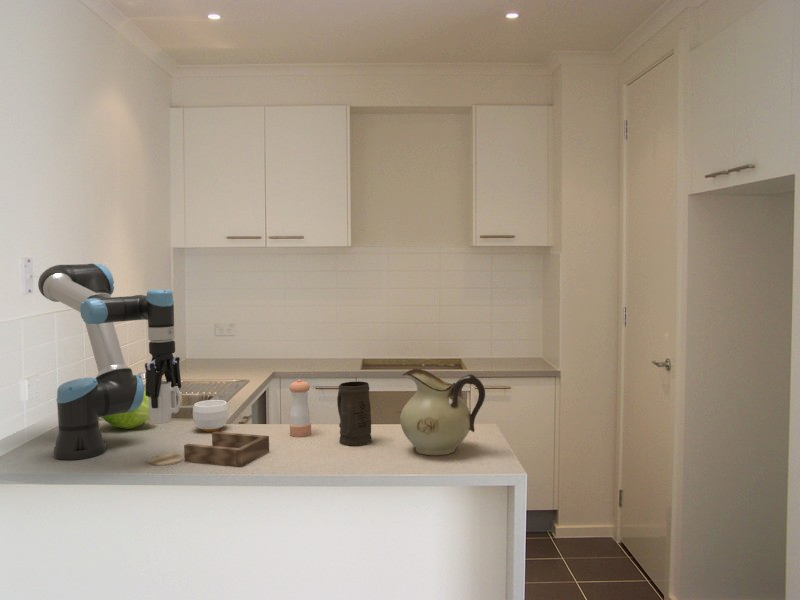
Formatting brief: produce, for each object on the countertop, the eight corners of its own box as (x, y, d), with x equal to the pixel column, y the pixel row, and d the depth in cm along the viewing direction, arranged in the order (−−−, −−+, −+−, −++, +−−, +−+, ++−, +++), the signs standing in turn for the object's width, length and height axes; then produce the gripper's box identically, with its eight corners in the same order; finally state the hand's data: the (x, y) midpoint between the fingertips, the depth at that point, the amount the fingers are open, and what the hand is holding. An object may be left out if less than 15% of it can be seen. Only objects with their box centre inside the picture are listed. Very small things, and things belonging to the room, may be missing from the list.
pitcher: (389, 445, 226) (388, 369, 224) (454, 437, 235) (453, 363, 233) (418, 464, 205) (417, 380, 204) (488, 454, 215) (487, 374, 213)
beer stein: (380, 441, 231) (376, 381, 231) (356, 448, 223) (352, 386, 223) (348, 436, 241) (344, 379, 241) (325, 443, 234) (321, 383, 233)
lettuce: (137, 440, 245) (135, 400, 242) (91, 430, 252) (89, 391, 249) (167, 424, 261) (166, 385, 257) (124, 415, 267) (122, 377, 264)
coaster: (142, 463, 210) (142, 462, 210) (163, 454, 220) (163, 452, 220) (170, 466, 207) (170, 464, 207) (190, 457, 216) (190, 455, 216)
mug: (145, 424, 210) (144, 384, 209) (153, 419, 216) (152, 381, 216) (178, 424, 209) (177, 384, 209) (186, 419, 216) (184, 380, 215)
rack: (184, 461, 212) (184, 445, 212) (215, 446, 228) (215, 431, 227) (241, 466, 206) (241, 450, 205) (269, 451, 222) (268, 435, 221)
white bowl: (236, 427, 253) (235, 401, 252) (212, 435, 242) (211, 408, 241) (210, 424, 258) (209, 398, 258) (185, 432, 247) (184, 405, 247)
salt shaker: (297, 438, 237) (296, 382, 236) (286, 434, 242) (284, 379, 241) (315, 434, 242) (314, 379, 240) (303, 430, 247) (302, 376, 246)
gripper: (151, 345, 200) (154, 424, 202) (191, 336, 219) (194, 409, 220) (129, 344, 203) (133, 422, 204) (171, 336, 221) (174, 408, 223)
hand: (165, 415), depth 212 cm, fingers closed on mug, 7 cm apart
